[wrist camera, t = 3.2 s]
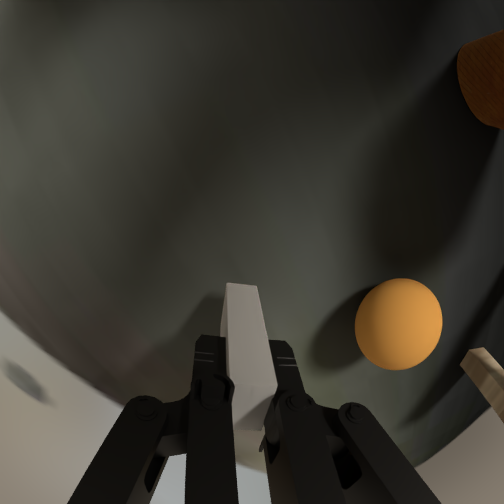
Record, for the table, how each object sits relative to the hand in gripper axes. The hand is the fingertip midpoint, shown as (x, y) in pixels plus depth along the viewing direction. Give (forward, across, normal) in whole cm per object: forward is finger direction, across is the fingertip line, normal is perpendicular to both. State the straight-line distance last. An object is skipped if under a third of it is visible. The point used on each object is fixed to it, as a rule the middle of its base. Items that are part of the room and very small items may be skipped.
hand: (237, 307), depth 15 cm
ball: (-1, +10, 0) cm, 10 cm away
